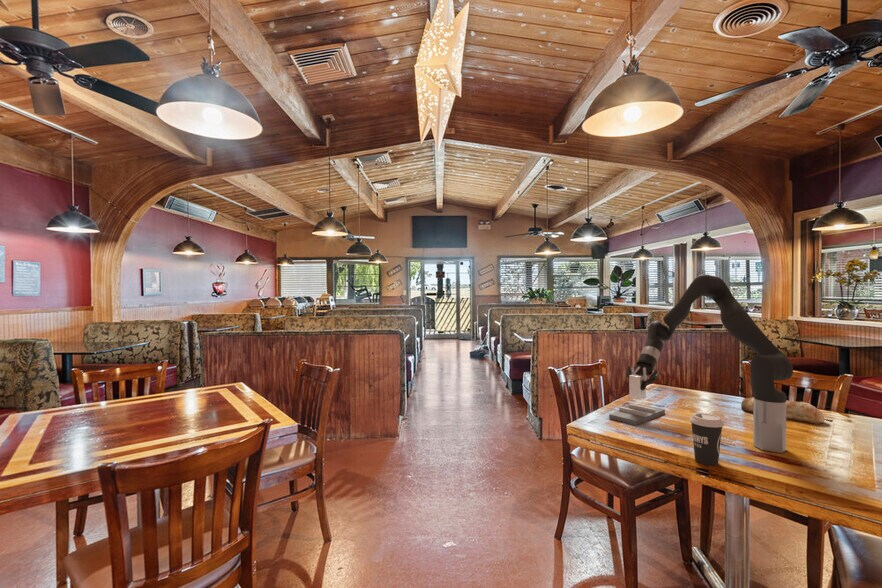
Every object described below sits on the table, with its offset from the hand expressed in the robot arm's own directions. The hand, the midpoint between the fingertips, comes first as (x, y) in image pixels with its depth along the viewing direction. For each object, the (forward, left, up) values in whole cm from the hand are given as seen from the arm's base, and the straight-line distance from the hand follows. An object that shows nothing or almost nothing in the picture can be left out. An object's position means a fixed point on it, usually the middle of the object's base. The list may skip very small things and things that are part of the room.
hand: (635, 388), depth 188 cm
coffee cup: (-41, -25, -13) cm, 50 cm away
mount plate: (+2, -1, -13) cm, 13 cm away
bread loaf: (+33, -56, -14) cm, 66 cm away
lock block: (+2, -1, -5) cm, 5 cm away
